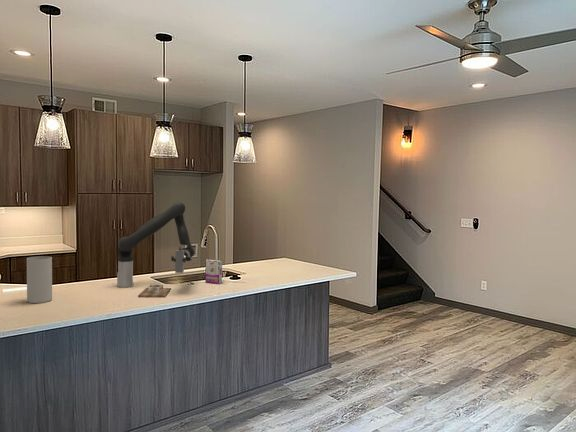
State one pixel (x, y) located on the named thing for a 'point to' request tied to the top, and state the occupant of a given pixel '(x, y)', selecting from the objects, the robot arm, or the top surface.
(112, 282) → the top surface
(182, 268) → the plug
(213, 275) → the candy bar box
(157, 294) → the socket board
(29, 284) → the cylinder vase
